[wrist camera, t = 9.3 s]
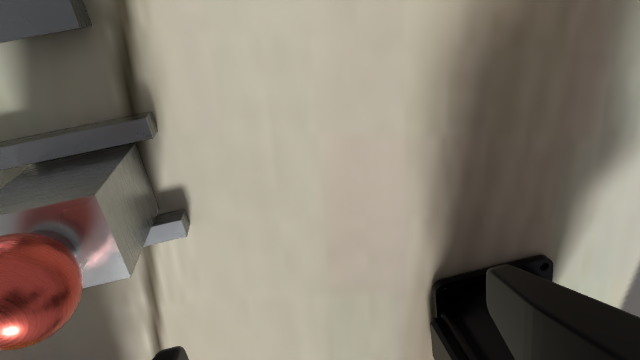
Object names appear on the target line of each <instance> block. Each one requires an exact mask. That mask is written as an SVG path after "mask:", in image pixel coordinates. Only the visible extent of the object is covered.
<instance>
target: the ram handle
mask: <svg viewBox="0 0 640 360" xmlns="http://www.w3.org/2000/svg"><path fill="white" fill-rule="evenodd" d="M158 210H159V207H158V204H157V201H156V199H155V196H154V193H153V191H152V188H151V185H150V182H149V180H148V177H147V174H146V172H145V169H144V166H143V163H142V161H141V158H140V155H139V153H138V150H137V147H136V144H135V143H134V144H129V145H124V146H120V147H115V148H110V149H105V150H100V151H96V152H91V153H86V154H81V155H77V156H72V157H67V158H62V159H57V160H53V161H48V162H43V163H38V164H33V165H31V166H30V167H29V168H28V169H26V170H25V171H24V172H22V173H21V174H20V175H18V176H17V177H16V178H15V179H13V180H12V181H11V182H9V183H8V184H7V185H5V186H4V187H3V188H2V189H0V350H12V349H19V348H24V347H27V346H30V345H34V344H36V343H38V342H40V341H42V340H44V339H46V338H48V337H50V336H51V335H52V334H54V333H55V332H56V331H58V330H59V329H60V328H61V327H62V326H63V325H64V324H65V323H66V322H67V321H68V320H69V319H70V317H71V316H72V315H73V313H74V312H75V310H76V308H77V306H78V304H79V301H80V298H81V295H82V290H83V288H87V287H91V286H95V285H99V284H104V283H108V282H112V281H117V280H121V279H125V278H129V277H131V275H132V273H133V270H134V268H135V265H136V263H137V261H138V258H139V256H140V253H141V251H142V249H143V246H144V244H145V241H146V239H147V236H148V234H149V232H150V229H151V227H152V224H153V222H154V220H155V217H156V215H157V212H158Z"/></svg>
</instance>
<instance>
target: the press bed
mask: <svg viewBox="0 0 640 360" xmlns="http://www.w3.org/2000/svg"><path fill="white" fill-rule="evenodd" d="M88 26H92V25H91V22H90V19H89V17H88V14H87V11H86V9H85V6H84V3H83V0H0V43H2V42H7V41H13V40H18V39H23V38H29V37H34V36H40V35H45V34H50V33H56V32H61V31H67V30H72V29H77V28H83V27H88Z"/></svg>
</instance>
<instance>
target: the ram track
mask: <svg viewBox="0 0 640 360" xmlns="http://www.w3.org/2000/svg"><path fill="white" fill-rule="evenodd" d="M157 131H158V130H157V127H156V124H155V122H154V119H153V116H152V113H151V112H147V113H142V114H137V115H132V116H128V117H123V118H118V119H113V120H108V121H103V122H98V123H93V124H88V125H83V126H78V127H74V128H69V129H64V130H59V131H54V132H49V133H44V134H39V135H34V136H29V137H24V138H20V139H15V140H10V141H5V142H0V170H3V169H8V168H13V167H18V166H22V165H27V164H32V163H37V162H42V161H46V160H51V159H56V158H61V157H66V156H70V155H75V154H80V153H85V152H90V151H94V150H99V149H104V148H109V147H114V146H118V145H123V144H128V143H133V142H138V141H142V140H147V139H152V138H153V137H154V136H155V134H156V133H157ZM189 226H190V224H189V221H188V218H187V215H186V213H185V210H180V211H175V212H171V213H166V214H162V215H157V216H156V217H155V220H154V222H153V224H152V227H151V229H150V232H149V234H148V236H147V239H146V241H145V244H144V246H148V245H152V244H157V243H161V242H165V241H170V240H174V239H179V238H183V237H187V235H188V230H189ZM144 246H143V247H144Z"/></svg>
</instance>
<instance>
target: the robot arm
mask: <svg viewBox="0 0 640 360" xmlns="http://www.w3.org/2000/svg"><path fill="white" fill-rule="evenodd" d="M543 263H544V264H543ZM542 264H543V265H542ZM541 265H542V266H541ZM552 276H553V262H552V260H551V259H549V258H548V257H547V256H546V255H538V256H534V257H530V258H526V259H522V260H518V261H514V262H510V263H506V264H502V265H498V266H494V267H490V268H486V269H482V270H478V271H474V272H470V273H466V274H461V275H457V276H453V277H449V278H445V279H441V280H439V281H437V282H436V283H435V284H434V285H433V289H432V292H433V305H434V318H433V319H432V321H431V323H430V327H431V339H432V351H433V357H434V359H435V360H640V317H638V316H635V315H633V314H630V313H628V312H626V311H623V310H621V309H618V308H616V307H613V306H611V305H608V304H606V303H603V302H601V301H598V300H596V299H593V298H591V297H588V296H586V295H583V294H581V293H578V292H576V291H573V290H571V289H569V288H566V287H564V286H561V285H559V284H556V283H554V282H552ZM444 288H445V290H443V291H441V290H442V289H444ZM152 360H189V359H188V356H187V354H186V352H185V350H184V348H183V347H181V346H176V347H172V348H168V349H164V350H161V351H159V352H158V353H157V354H156V355H155V357H154V358H153V359H152Z"/></svg>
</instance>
